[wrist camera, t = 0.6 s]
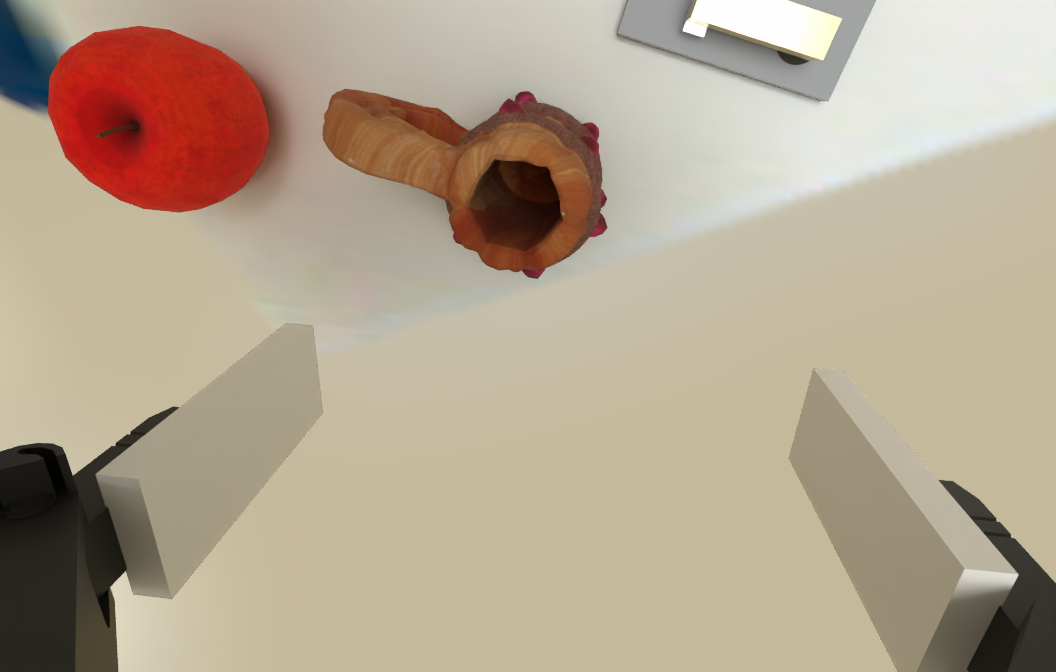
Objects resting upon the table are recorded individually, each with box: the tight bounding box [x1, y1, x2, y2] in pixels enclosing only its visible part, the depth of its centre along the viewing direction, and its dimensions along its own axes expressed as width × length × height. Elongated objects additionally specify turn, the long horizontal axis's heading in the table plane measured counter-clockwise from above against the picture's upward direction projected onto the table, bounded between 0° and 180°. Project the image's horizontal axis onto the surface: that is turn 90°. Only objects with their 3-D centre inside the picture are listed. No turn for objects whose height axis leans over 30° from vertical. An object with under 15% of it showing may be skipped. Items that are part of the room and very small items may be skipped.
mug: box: [323, 89, 607, 279], centre depth 32 cm, size 15×8×15 cm, turn 67°
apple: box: [48, 26, 269, 212], centre depth 34 cm, size 10×10×12 cm
